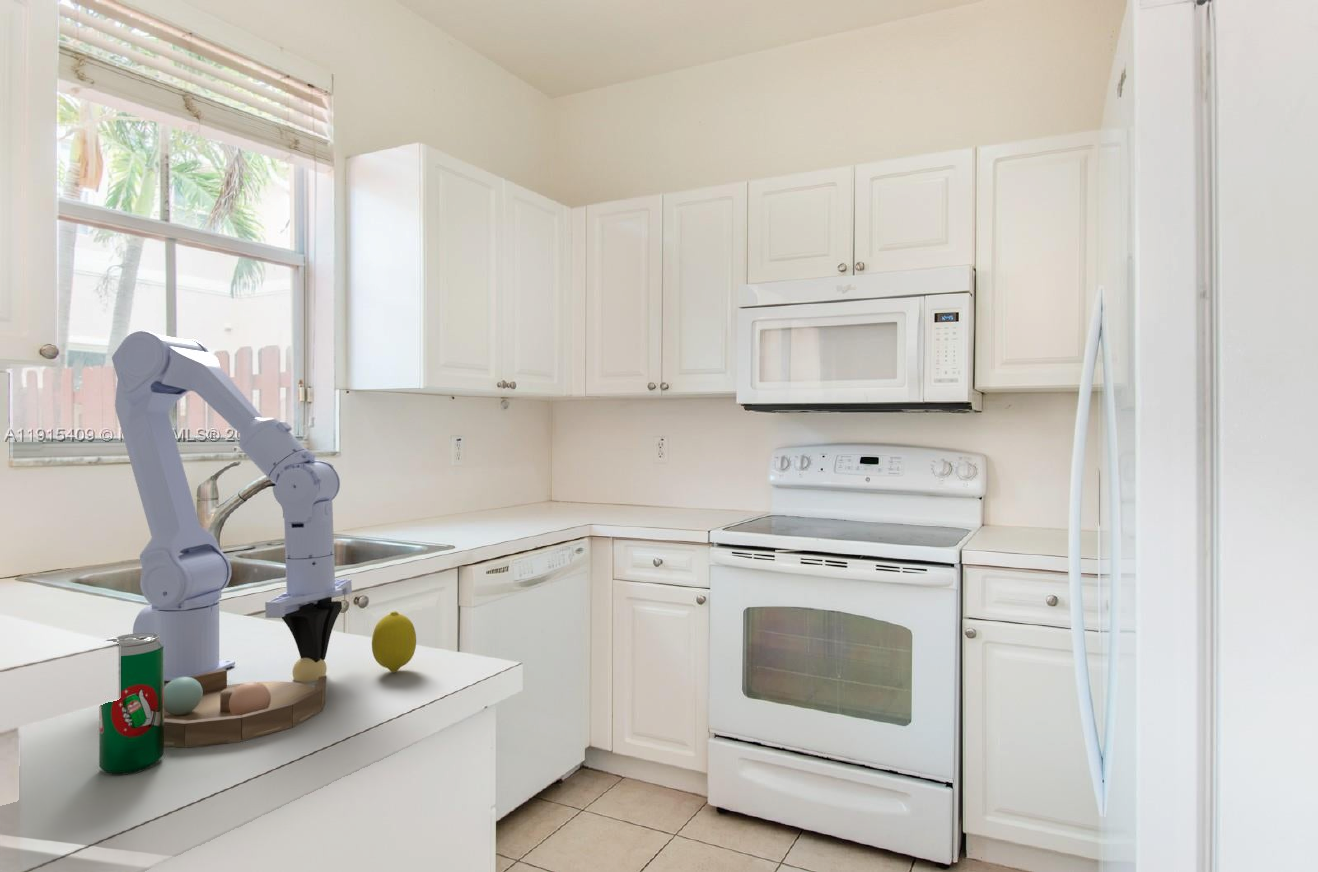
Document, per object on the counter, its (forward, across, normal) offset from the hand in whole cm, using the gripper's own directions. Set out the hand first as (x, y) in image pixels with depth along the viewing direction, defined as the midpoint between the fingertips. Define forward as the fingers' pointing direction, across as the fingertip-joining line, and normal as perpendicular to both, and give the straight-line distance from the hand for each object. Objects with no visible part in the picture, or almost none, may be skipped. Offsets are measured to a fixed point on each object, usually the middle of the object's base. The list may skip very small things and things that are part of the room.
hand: (313, 661), depth 100 cm
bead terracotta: (+2, -16, -4) cm, 16 cm away
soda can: (+2, -27, 0) cm, 27 cm away
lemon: (+3, +4, -9) cm, 10 cm away
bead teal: (+1, -16, +5) cm, 16 cm away
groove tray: (+2, -13, +1) cm, 13 cm away
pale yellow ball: (+2, +2, 0) cm, 2 cm away
